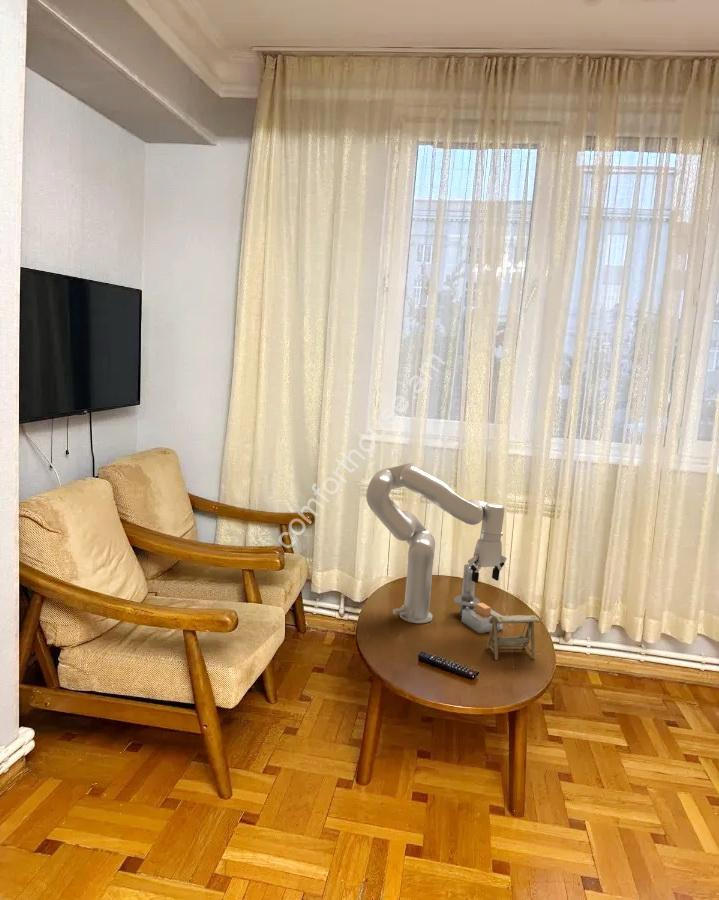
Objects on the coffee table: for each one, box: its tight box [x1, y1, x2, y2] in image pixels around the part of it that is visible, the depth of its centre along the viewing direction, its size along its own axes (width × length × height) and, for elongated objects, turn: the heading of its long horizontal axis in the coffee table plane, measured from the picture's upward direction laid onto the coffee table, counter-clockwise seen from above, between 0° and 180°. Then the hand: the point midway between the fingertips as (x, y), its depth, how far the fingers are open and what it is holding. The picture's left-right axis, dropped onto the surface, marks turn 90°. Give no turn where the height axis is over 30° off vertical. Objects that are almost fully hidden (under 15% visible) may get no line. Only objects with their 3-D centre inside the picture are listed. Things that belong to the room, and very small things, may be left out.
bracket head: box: [453, 563, 504, 634], centre depth 261 cm, size 11×20×20 cm, turn 28°
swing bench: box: [485, 614, 541, 661], centre depth 235 cm, size 15×10×15 cm, turn 100°
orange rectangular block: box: [475, 602, 492, 617], centre depth 258 cm, size 3×5×8 cm, turn 29°
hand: (484, 580), depth 256 cm, fingers open, 9 cm apart
